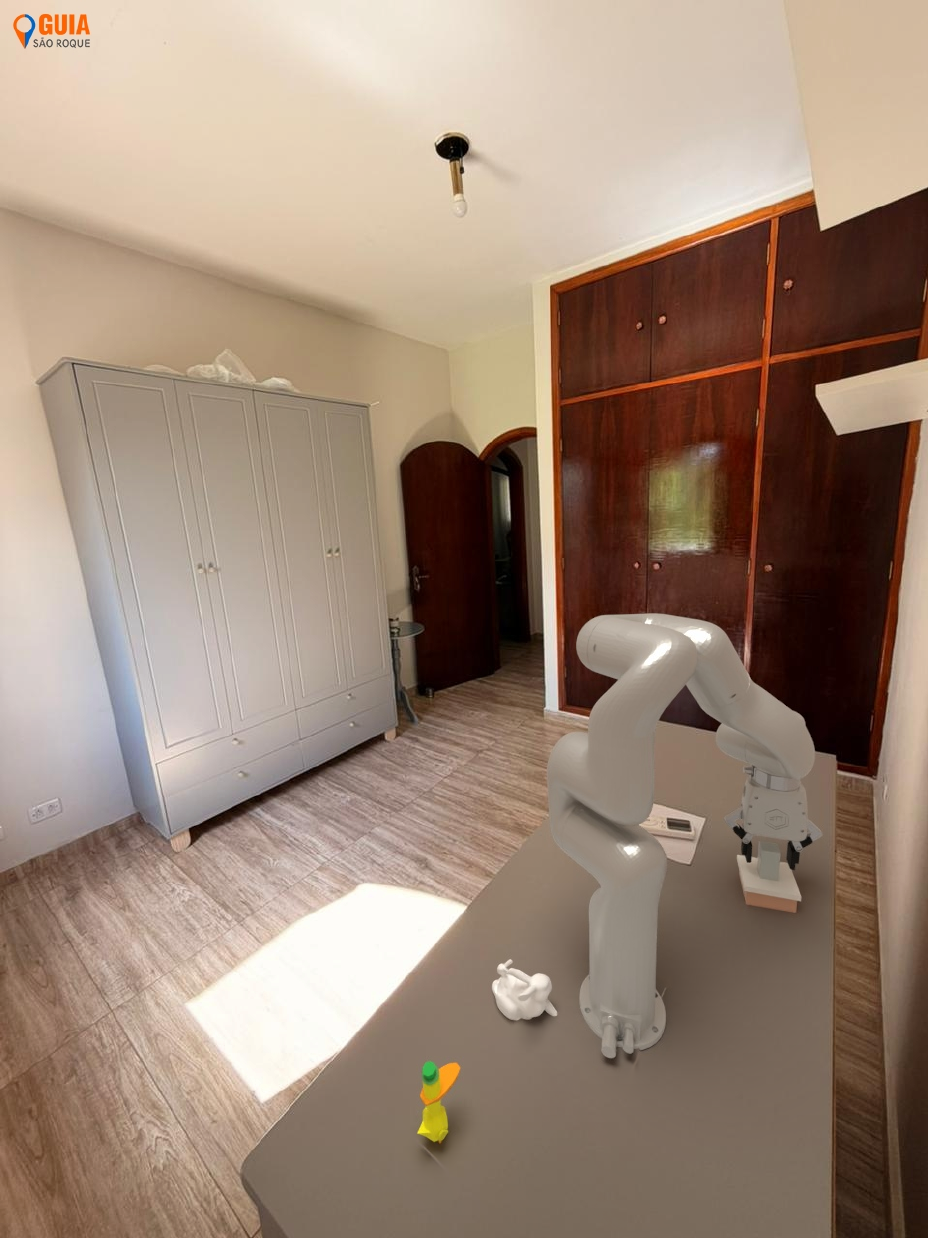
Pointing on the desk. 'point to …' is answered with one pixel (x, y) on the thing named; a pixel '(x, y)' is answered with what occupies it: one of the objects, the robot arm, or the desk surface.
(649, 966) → the robot arm
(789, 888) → the lid
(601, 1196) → the desk surface
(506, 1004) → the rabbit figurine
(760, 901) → the square frame
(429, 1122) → the toy figure
